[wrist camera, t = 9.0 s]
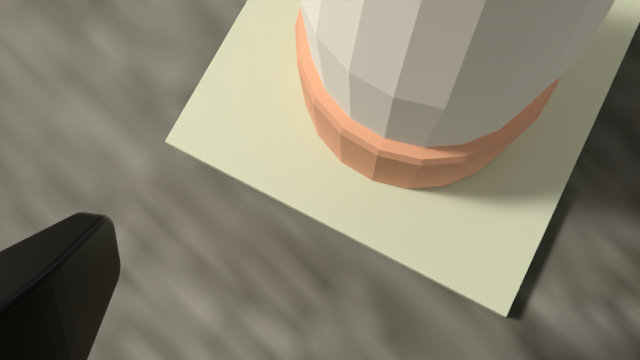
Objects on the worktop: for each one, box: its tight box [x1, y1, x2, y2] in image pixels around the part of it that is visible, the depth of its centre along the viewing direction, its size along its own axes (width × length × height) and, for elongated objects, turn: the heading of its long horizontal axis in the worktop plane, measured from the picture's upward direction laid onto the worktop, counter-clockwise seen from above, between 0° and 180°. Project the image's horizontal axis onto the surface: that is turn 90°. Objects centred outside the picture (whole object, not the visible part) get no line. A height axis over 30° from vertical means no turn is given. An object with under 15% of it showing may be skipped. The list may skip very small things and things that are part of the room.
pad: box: [165, 0, 640, 317], centre depth 19 cm, size 12×12×1 cm
